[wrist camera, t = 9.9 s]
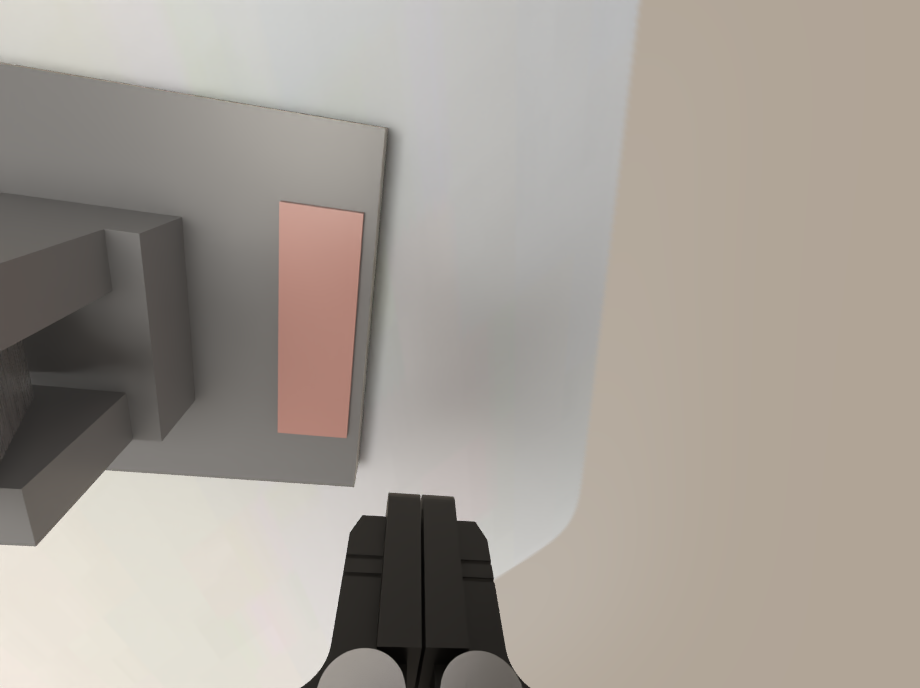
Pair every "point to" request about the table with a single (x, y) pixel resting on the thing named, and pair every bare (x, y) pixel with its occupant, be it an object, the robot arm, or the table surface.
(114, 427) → the switch box
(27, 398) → the lever
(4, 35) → the table surface
